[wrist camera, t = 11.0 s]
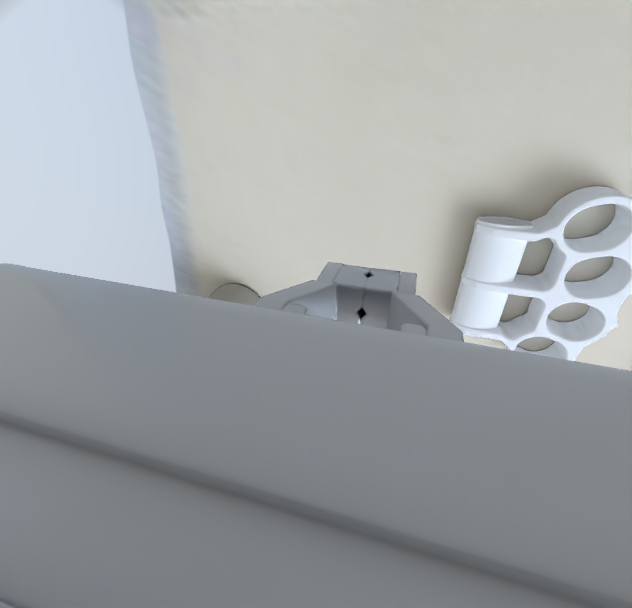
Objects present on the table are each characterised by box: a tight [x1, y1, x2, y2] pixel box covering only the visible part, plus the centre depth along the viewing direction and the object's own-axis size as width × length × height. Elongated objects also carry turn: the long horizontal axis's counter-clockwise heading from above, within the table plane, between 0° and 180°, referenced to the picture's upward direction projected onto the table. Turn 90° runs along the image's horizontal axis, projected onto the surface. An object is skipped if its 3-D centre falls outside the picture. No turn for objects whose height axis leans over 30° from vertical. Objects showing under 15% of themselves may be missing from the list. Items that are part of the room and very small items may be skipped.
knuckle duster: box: [449, 186, 632, 361], centre depth 32 cm, size 3×18×15 cm
